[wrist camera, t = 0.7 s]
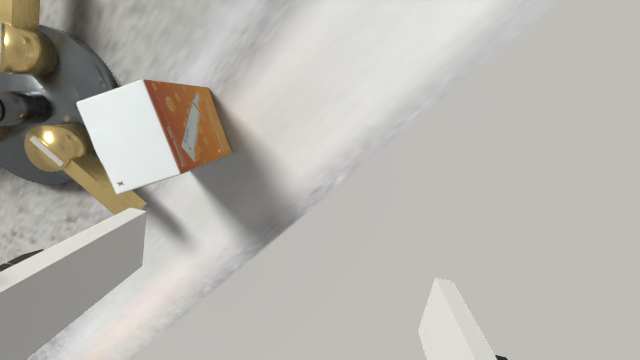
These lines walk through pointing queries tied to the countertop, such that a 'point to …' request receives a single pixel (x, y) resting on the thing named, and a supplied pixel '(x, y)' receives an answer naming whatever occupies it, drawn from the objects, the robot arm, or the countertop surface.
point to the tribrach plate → (49, 101)
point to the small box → (153, 131)
